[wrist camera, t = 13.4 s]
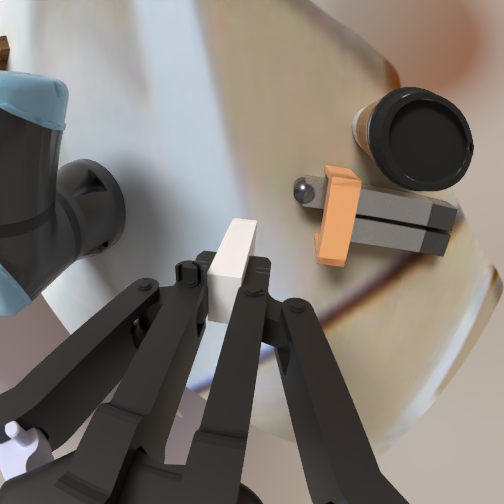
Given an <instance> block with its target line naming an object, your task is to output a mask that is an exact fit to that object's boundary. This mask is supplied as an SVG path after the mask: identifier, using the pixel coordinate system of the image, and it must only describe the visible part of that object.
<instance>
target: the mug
mask: <svg viewBox="0 0 504 504" xmlns="http://www.w3.org/2000/svg"><path fill="white" fill-rule="evenodd" d="M9 50H10V48H9V44H8V41H7V37H6V36H1V37H0V70H1V71H5V68H6V63H7V59H8V55H9Z"/></svg>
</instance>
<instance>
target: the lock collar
mask: <svg viewBox="0 0 504 504" xmlns="http://www.w3.org/2000/svg"><path fill="white" fill-rule="evenodd" d="M324 172H325V174H326V175H327V177H328V179H329V180H328V187H327V194H326V200H325V207H324V213H323V219H322V225H321V231H320V234H319V233H315V236H314V242H315V249H316V256H317V264H325V265H333V266H341V267H344V264H345V260H346V256H347V252H348V248H349V244H350V239H351V235H352V230H353V225H354V221H355V216H356V211H357V206H358V200H359V195H360V190H361V184H362V181H361V180H360V179H359V178H358V177H357V176H356V175H355V174H354V173H353V172H352V171H351V170H350V169H348V168H342V167H335V166H329V165H325V170H324Z"/></svg>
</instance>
